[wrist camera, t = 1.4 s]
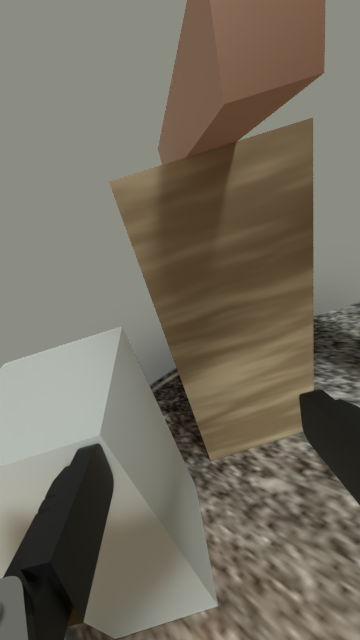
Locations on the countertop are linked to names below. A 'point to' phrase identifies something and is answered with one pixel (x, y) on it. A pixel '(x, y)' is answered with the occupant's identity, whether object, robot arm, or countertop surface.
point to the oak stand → (232, 279)
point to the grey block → (128, 474)
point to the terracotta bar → (238, 69)
